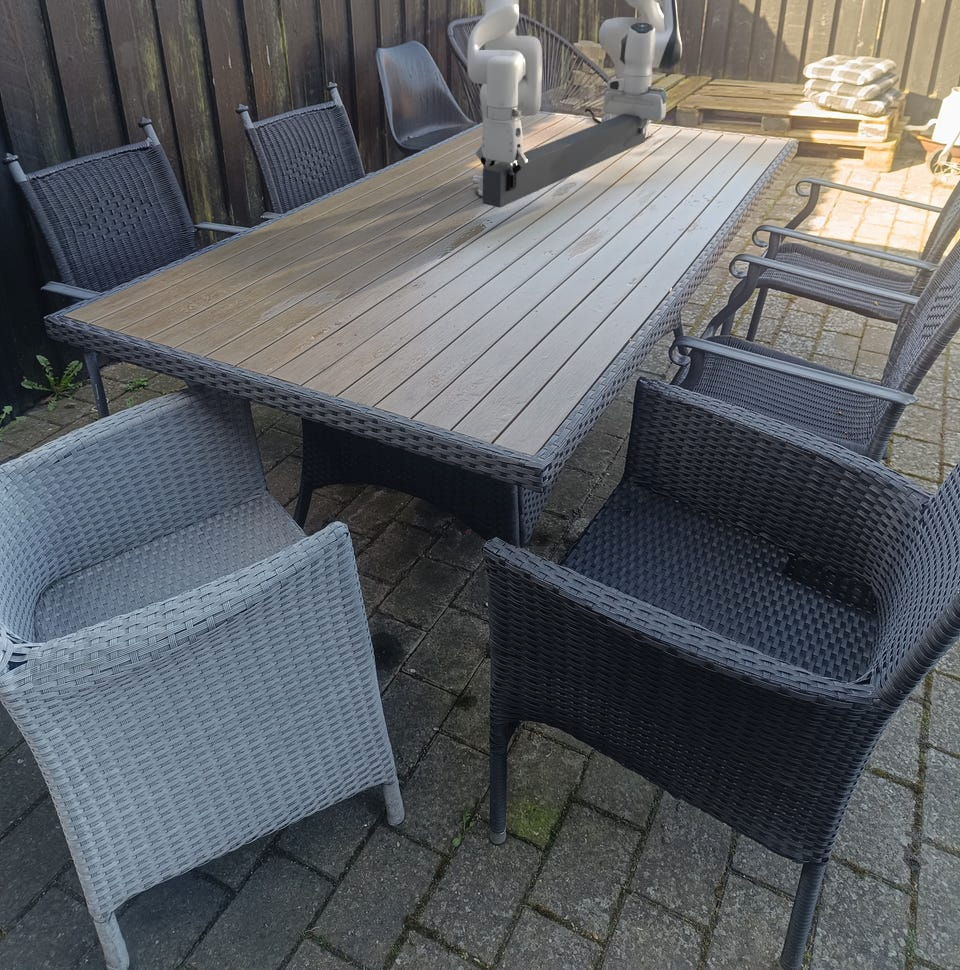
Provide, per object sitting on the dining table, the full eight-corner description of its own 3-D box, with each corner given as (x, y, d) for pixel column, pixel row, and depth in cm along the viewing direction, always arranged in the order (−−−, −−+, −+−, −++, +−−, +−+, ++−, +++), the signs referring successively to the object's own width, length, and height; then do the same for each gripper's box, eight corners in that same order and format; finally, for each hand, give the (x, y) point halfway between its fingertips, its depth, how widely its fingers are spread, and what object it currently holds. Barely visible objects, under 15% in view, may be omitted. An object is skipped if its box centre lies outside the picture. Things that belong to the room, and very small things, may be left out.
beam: (500, 207, 215) (500, 172, 210) (482, 203, 218) (482, 168, 213) (644, 142, 269) (648, 112, 264) (629, 139, 271) (632, 110, 266)
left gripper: (540, 114, 205) (537, 189, 216) (482, 105, 213) (482, 178, 224) (523, 120, 200) (521, 197, 211) (464, 111, 208) (465, 185, 219)
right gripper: (672, 86, 254) (666, 134, 262) (612, 78, 264) (608, 125, 272) (663, 90, 250) (657, 139, 258) (602, 82, 259) (598, 129, 268)
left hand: (501, 186), depth 217 cm, fingers closed on beam, 5 cm apart
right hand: (631, 131), depth 265 cm, fingers closed on beam, 5 cm apart
